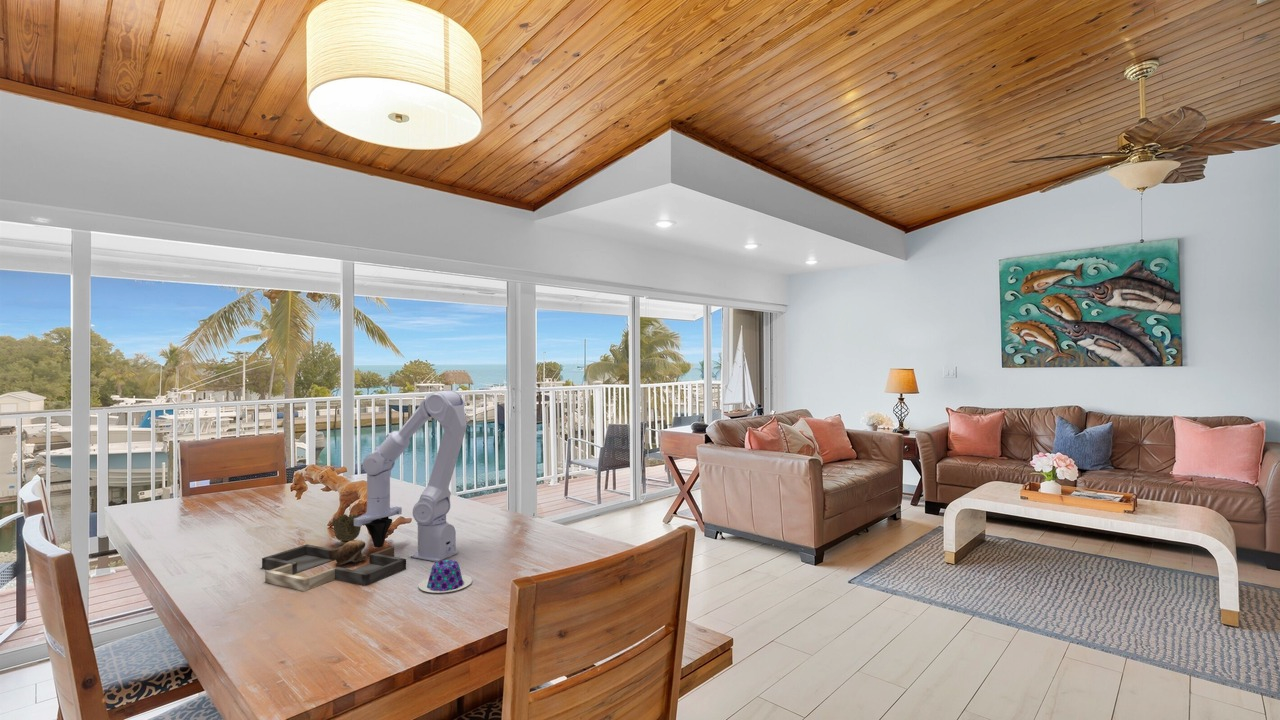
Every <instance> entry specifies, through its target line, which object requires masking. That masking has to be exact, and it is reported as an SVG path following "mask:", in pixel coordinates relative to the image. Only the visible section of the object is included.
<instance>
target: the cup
mask: <svg viewBox="0 0 1280 720" xmlns="http://www.w3.org/2000/svg"><path fill="white" fill-rule="evenodd" d="M360 516H362V514H360V515H359V513H357V514H356V513H354V514H353V515H352V513H350V514H349V515H347V514H346V513H344V514H342V515H340V514H339V515H337V518H336V517H333V518H332V525H333V532H334V536H335V538H336V539H337V540H338V541H340V543H339V544H340V547H341V546H343V545H344V544H345V543H347V542H349V541H351V540H356V539H357V538H358V537H359V535H360V533H361V527H362V526H360V527H358V526H354V518H357V517H360Z"/></svg>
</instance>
